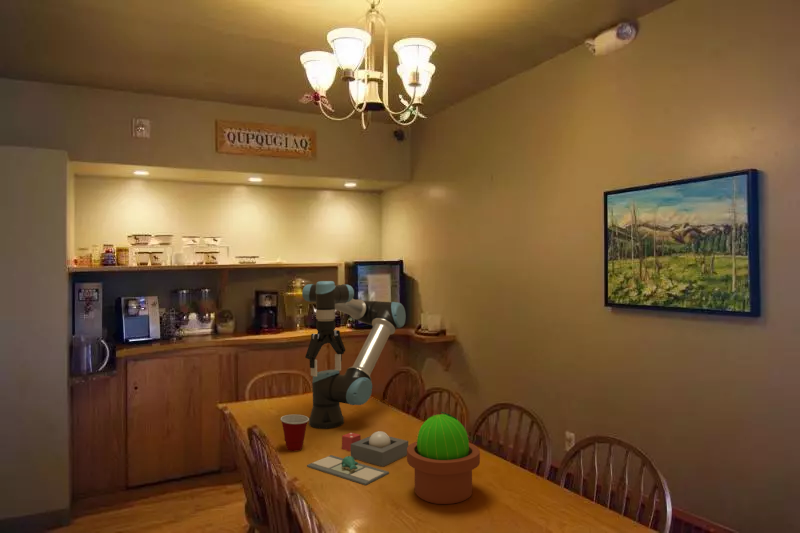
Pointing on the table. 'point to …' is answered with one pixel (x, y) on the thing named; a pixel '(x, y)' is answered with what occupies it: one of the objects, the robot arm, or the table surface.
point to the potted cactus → (443, 460)
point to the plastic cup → (294, 430)
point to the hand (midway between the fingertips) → (326, 373)
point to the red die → (349, 440)
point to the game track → (360, 475)
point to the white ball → (379, 439)
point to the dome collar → (379, 451)
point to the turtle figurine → (349, 463)
